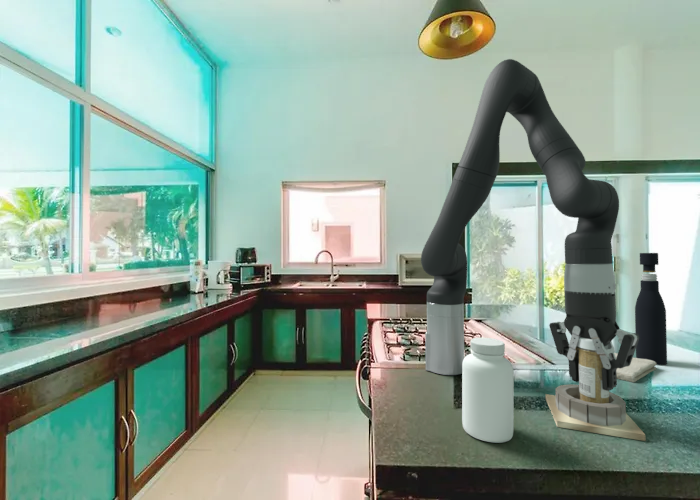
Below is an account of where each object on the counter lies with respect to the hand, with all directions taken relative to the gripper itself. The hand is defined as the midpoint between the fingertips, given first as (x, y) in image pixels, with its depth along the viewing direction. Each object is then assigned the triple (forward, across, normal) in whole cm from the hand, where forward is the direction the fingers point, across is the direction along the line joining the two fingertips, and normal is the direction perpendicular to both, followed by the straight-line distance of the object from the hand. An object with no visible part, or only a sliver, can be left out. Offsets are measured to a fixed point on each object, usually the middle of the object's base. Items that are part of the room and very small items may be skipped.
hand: (592, 384), depth 60 cm
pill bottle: (+6, -6, -20) cm, 22 cm away
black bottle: (+6, -10, +51) cm, 52 cm away
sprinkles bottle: (+5, 0, 0) cm, 5 cm away
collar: (+6, -1, 0) cm, 6 cm away
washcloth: (+7, -12, +35) cm, 38 cm away
